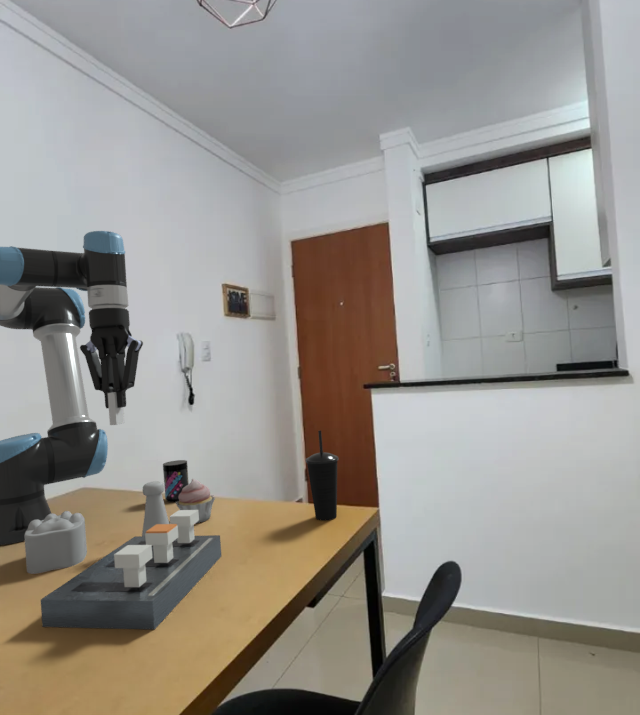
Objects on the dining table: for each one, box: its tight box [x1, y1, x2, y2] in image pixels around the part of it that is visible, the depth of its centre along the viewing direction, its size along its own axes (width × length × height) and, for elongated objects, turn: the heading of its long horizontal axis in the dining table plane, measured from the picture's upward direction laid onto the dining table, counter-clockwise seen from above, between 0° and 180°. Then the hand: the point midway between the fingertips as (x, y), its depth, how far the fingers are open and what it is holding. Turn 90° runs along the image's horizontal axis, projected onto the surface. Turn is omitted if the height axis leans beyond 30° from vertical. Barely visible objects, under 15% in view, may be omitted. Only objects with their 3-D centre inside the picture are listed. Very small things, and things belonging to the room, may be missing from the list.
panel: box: [40, 534, 222, 630], centre depth 81 cm, size 18×25×4 cm
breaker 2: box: [169, 509, 199, 543], centre depth 89 cm, size 4×4×5 cm
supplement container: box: [162, 459, 190, 503], centre depth 136 cm, size 7×7×10 cm
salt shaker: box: [141, 480, 170, 536], centre depth 101 cm, size 6×6×13 cm
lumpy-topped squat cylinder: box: [24, 510, 88, 575], centre depth 98 cm, size 10×13×9 cm
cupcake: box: [174, 478, 216, 524], centre depth 116 cm, size 9×9×10 cm
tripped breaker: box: [145, 523, 179, 563], centre depth 81 cm, size 4×4×6 cm
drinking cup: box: [304, 430, 339, 522], centre depth 110 cm, size 8×8×20 cm
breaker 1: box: [114, 545, 152, 587], centre depth 72 cm, size 4×4×5 cm
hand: (117, 424), depth 97 cm, fingers closed
